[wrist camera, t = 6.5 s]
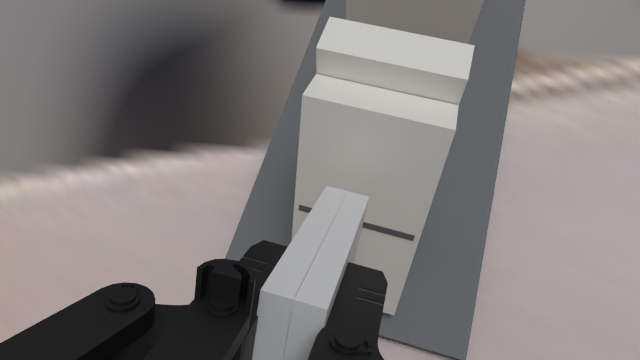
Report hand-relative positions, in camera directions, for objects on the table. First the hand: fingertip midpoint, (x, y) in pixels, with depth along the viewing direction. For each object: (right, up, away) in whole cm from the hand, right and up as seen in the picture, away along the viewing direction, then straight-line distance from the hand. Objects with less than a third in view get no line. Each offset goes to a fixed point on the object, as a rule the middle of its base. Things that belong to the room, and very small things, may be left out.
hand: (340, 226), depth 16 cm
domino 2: (+2, +1, +8) cm, 8 cm away
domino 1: (0, -3, +6) cm, 7 cm away
